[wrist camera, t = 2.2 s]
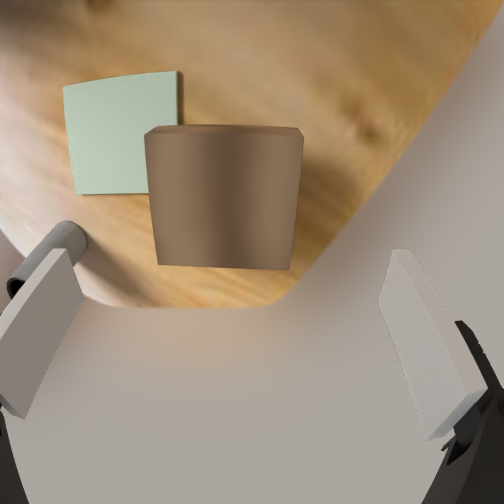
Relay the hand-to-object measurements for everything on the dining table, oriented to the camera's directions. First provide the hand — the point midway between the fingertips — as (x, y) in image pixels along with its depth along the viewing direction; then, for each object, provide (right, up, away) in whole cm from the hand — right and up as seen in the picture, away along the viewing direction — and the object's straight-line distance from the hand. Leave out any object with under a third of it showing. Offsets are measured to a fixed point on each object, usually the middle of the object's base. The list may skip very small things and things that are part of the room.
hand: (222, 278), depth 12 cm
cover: (-1, +6, +12) cm, 13 cm away
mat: (-11, +11, +13) cm, 21 cm away
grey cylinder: (-19, +3, +19) cm, 27 cm away
